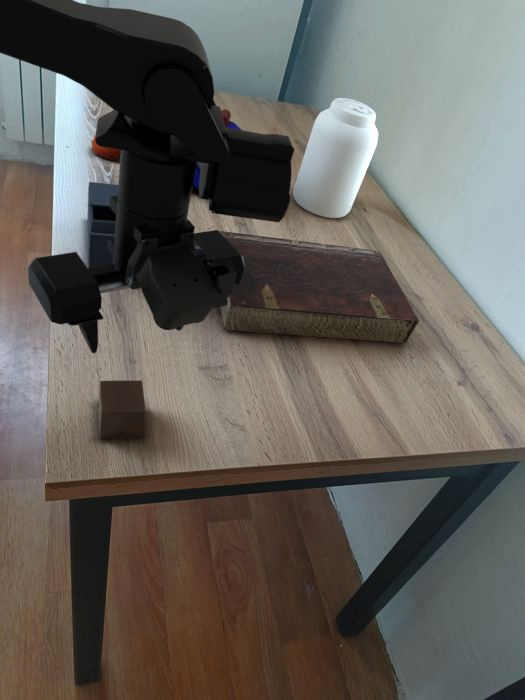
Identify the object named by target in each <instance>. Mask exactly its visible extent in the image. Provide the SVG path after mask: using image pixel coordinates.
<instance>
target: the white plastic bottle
mask: <svg viewBox="0 0 525 700" xmlns="http://www.w3.org/2000/svg"><path fill="white" fill-rule="evenodd" d="M376 114H377V113H376V112H375V110H374V109H373V108H371V107H370V106H369V105H367V104H365V103H363V102H361V101H359V100H357V99H356V100H355V99H352V98H348V97H337V98H334V99H333V100H332V102H331V103H330V106H329V107H328V108H326V109H324V110H323V111H321V112H319V113H318V115H317V117H316V118H315V119H314V123H313V126H312V129H311V133H310V135H309V139H308V142H307V145H306V148H305V152H304V155H303V158H302V161H301V164H300V167H299V170H298V174H297V176H296V179H295V183H294V187H293V190H292V196H293V199H294V201H295V202H296V203H297V204H298V206H300V207H301V208H302V209H304V210H306V211H307V212H308V213H311V214H314V215H316V216H320V217H321V218H322V217H323V218H329V219H340V218H342V217H345V216H347V214H349V213H350V212H351V210H352V207H353V205H354V202H355V200H356V197H357V195H358V193H359V191H360V188H361V185H362V183H363V180H364V179H365V178H364V177H365V176H366V172H367V171H368V168H369V166H370V163H371V160H372V158H373V155H374V153H375V151H376V148H377V146H378V139H379V131H378V128H377V127H376V124H375V122H376V120H377V119H376V117H377V116H376Z"/></svg>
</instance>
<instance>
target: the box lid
mask: <svg viewBox="0 0 525 700" xmlns="http://www.w3.org/2000/svg"><path fill="white" fill-rule="evenodd" d="M115 224H116V221H106V220H94V219H92V223H91V229H90V232H99V233H111V234H115Z"/></svg>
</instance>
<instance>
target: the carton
mask: <svg viewBox="0 0 525 700" xmlns="http://www.w3.org/2000/svg"><path fill="white" fill-rule="evenodd" d="M117 195H118V184H113V183H104V182H94V181H88V189H87V223H86V224H87V225H86V226H87V227H86V228H87V260H88V261H87V263H88V264H87V265H88V266H87V268H93V267H99V266H104V265H110V264H113V255H112V254H111V252H110V251H109V250H108V248H107V239H108V238H111V237H115V234H111V233H99V232H90V229H91V223H92V219H94V220H106V221H116V214H115V213H114V212H113V211H112V209H111V208H110V196H117Z"/></svg>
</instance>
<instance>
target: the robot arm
mask: <svg viewBox="0 0 525 700" xmlns="http://www.w3.org/2000/svg"><path fill="white" fill-rule="evenodd" d="M0 54H2V55H5V56H8V57H11V58H13V59H15V60H19V61H22V62H25V63H27V64H30V65H32V66H35V67H39V68H42V69H43V70H47V71H49V72H53V73H55V74H58V75H60V76H64V77H66V78H67V79H69V80H71V81H73V82H75V83H77V84H79V85H80V86H82V87H83V88H85V89H86V90H88V91H89V92H90V93H91V94H93V95H94V96H95V97H96V98H98V99H99V100H100V101H102V102H103V103H104V104H106V106H108V107H109V108H111V109H112V110H111V111H109V112H107V113H106V114H104V115H102V116H99V118H98V119H97V122H96V128H95V130H96V131H95V135H96V136H95V135H94V137H95V142H96V144H97V145H98V146H101V147H107V148H113V149H119V150H121V155H120V157H119V158H120V159H119V170H118V171H119V173H118V184H117V185H118V195H117V196H110V208H111V209H112V211H113V212H114V213H115V214H116V224H115V237H111V238H108V239H107V248H108V250H109V251H110V252H111V254H112V255H113V264H110V265H104V266H99V267H93V268H88V266H87V265H86V264H85V262H84V260H83V259H82V258H81V256H80V255H79V253H78V252H77V251H73V252H72V251H71V252H65V253H59V254H54V255H52V254H51V255H46V256H41V257H35V258H34V259H33V260H32V261H31V262H30V264H29V265H28V267H27V275H28V276H27V277H28V278H27V279H28V285H29V286H30V288H31V290H32V292H33V293H34V295H35V297H36V298H37V300H38V302H39V304H40V305H41V308H43V311H44V312H45V314H46V316H47V317H48V319H49V321H50V322H51V323H54V324H57V325H61V326H62V325H65V324H67V325H68V326H73V327H74V326H78V328H79V330H80V332H81V334H82V336H83V339H84V341H85V343H86V345H87V347H88V349H89V350H90V352H91V354H96V353H98V347H99V321H100V320H104V316H103V315H102V312H101V309H102V301H103V298H102V294H105V293H111V292H115V291H120V290H124V289H129V288H130V289H131V291H132V290H137V289H141V290H140V291H141V293H142V295H143V297H144V299H145V301H146V303H147V305H148V307H149V309H150V312H151V314H152V318H153V321H154V323H155V325H156V326H157V327H158V328H160V329H162V330H164V331H172V330H176V331H177V332H178V331H181V330H182V329H183V328H184V326H188V325H191V324H199V323H202V322H203V321H205V319H206V318H207V317H208V315H209V314H210V313H211V311H212V310H215V309H220V307H223V306H226V305H227V304H228V300H227V298H228V297H229V296H230V295H231V293H232V292H233V290H234V285H235V284H240V282H241V279H242V276H243V272H244V269H245V263H244V258H243V257H242V255H241V254H240V253H239V252H238V251H237V250H236V249H235V248H234V247H233V246H232V245H231V244H230V243H229V242H228V241H227V239H226V238H225V237H224V236H223V235H222V234H221V233H220V232H219V231H220V230H218V229H214V230H206V231H200V232H195V229H196V226H195V225H194V224H193V223H192V222H191V221H190V219H188V215H189V209H190V204H191V200H192V199H191V196H192V193H193V189H192V187H193V182H194V176H195V170H196V165H197V162H202V164H201V170H200V179H199V189H198V196H199V199H201V200H206V201H207V200H208V201H209V202H208V211H210V212H211V214H215V215H222V216H229V217H236V218H242V219H243V218H244V219H249V220H258V221H265V222H271V223H272V222H273V223H280V222H281V221H282V220H283V219H284V217H285V216H286V213H287V211H288V208H289V206H290V201H291V193H290V190H291V183H292V159H293V157H294V153H295V147H294V145H293V142H292V140H291V138H290V137H289V136H288V135H283V134H278V133H267V134H266V133H259V132H254V131H249V130H243V129H241V130H238V129H233V128H227V127H225V124H224V120H223V116H222V112H221V111H222V108H221V107H220V106H218V105H217V104H216V102H215V99H214V96H215V86H214V85H215V84H214V78H213V75H212V74H213V73H212V71H211V67H210V63H209V59H208V55H207V52H206V49H205V46H204V45H203V43H202V40H201V38H200V37H199V35H198V34H197V33H196V31H195V30H193V28H192V27H191V26H189V25H188V24H187V23H185V22H183V21H181V20H179V19H175V18H173V17H167V16H163V15H158V14H154V13H149V12H146V11H145V12H144V11H141V10H136V9H131V8H121V7H120V8H119V7H106V6H105V7H104V6H96V5H92V4H87V3H82V2H79V1H76V0H0Z"/></svg>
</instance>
